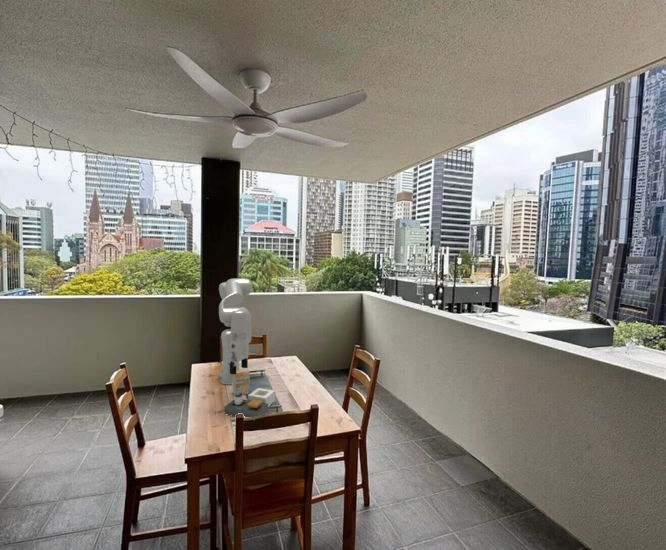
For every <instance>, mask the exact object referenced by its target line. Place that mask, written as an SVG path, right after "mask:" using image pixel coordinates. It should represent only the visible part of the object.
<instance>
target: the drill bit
mask: <svg viewBox="0 0 666 550" xmlns="http://www.w3.org/2000/svg"><path fill="white" fill-rule="evenodd" d="M242 394H243V387H241V386H237V387H235V396H234V400H235V406H242V399H243V395H242Z"/></svg>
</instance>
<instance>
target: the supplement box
mask: <svg viewBox="0 0 666 550" xmlns="http://www.w3.org/2000/svg"><path fill="white" fill-rule="evenodd" d="M250 375H251V373H250V369H248V368H242V369H239V370H236V374H233V384H232V391H231V392H232V395H233V396H234V397H235V387H237V386H241V387H243V394H242V396H245V395H249V394H250V380H251V379H250ZM248 393H249V394H248Z"/></svg>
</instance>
